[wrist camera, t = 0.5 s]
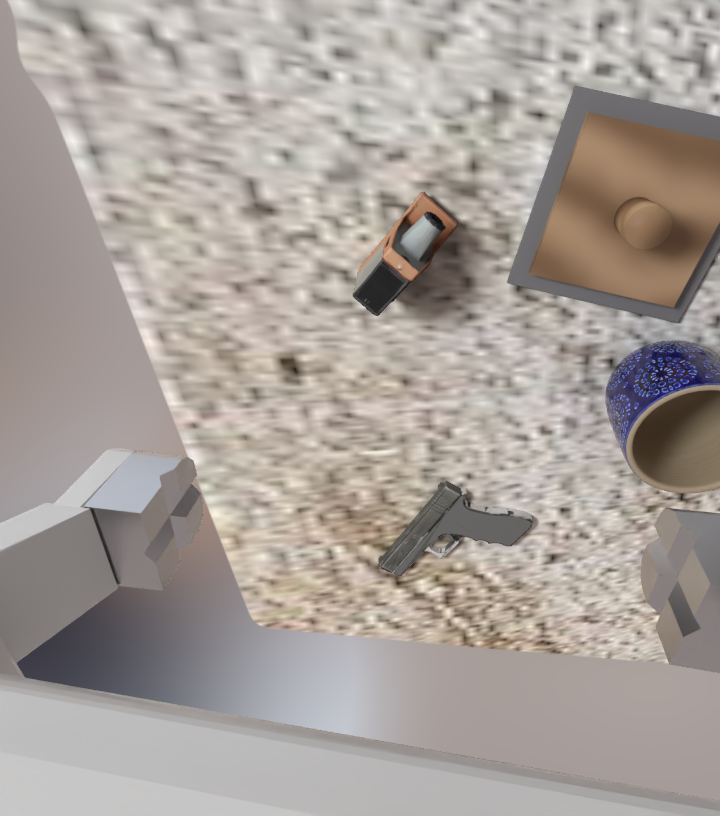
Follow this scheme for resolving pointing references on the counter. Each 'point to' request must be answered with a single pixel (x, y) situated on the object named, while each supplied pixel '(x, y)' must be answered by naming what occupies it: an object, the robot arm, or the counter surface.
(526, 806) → the robot arm
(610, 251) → the lid
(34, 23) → the counter surface
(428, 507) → the handgun
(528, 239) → the mat
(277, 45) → the counter surface
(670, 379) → the planter
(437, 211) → the electronic device
